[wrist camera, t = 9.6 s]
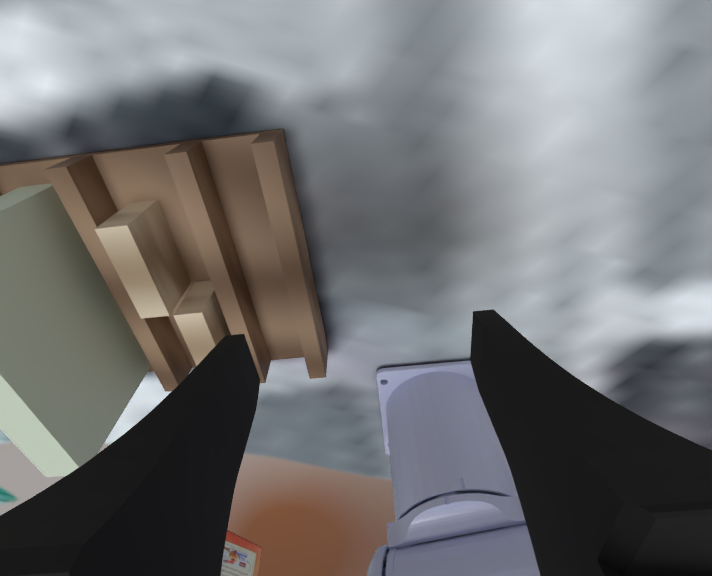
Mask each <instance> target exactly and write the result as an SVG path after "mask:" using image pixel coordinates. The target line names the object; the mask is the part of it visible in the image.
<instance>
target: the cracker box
mask: <svg viewBox="0 0 712 576" xmlns="http://www.w3.org/2000/svg"><path fill="white" fill-rule="evenodd" d="M261 553H262V548H261V547H260V546H258V545H256V544H254V543H252V542H250V541H248V540H246V539H244V538H242V537H240V536H238V535H236V534H234V533H232V532H230V531H228V530H227V534H226V541H225V547H224V554H223V560H222V568H221V576H258V571H259V566H260V559H261Z"/></svg>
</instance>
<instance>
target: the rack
mask: <svg viewBox="0 0 712 576" xmlns="http://www.w3.org/2000/svg"><path fill="white" fill-rule="evenodd" d="M47 183H52V185H53V187H54V189H55V190H56V192H57V194H58V196H59V198H60V200H61V201H62V203H63V205H64V207H65V209H66V211H67V212H68V214H69V216H70V218H71V220H72V222H73V223H74V225H75V227H76V229H77V231H78V233H79V234H80V236H81V238H82V240H83V242H84V243H85V245H86V247H87V249H88V251H89V253H90V254H91V256H92V258H93V260H94V262H95V264H96V265H97V267H98V269H99V271H100V273H101V275H102V276H103V278H104V280H105V282H106V284H107V285H108V287H109V289H110V291H111V293H112V295H113V296H114V298H115V300H116V302H117V304H118V306H119V307H120V309H121V311H122V313H123V315H124V317H125V318H126V320H127V322H128V324H129V326H130V328H131V329H132V331H133V333H134V335H135V337H136V338H137V340H138V342H139V344H140V346H141V348H142V349H143V351H144V353H145V355H146V357H147V359H148V360H149V362H150V364H151V367H150V368H149V370H148V371H155V373H156V375H157V377H158V379H159V381H160V382H161V384H162V386H163V388H164V390H165V391H173V390H174V389H175V388H176V387H177V386H178V385H179V384H180V383H181V382H182V381H183V380H184V379H185V378H186V377H187V376H188V374H189V372H190V370H191V368H192V367H196V364H195V361H194V359H193V357H192V355H191V353H190V351H189V348H188V346H187V344H186V342H185V340H184V338H183V335H182V333H181V331H180V329H179V327H178V325H177V322H176V320H175V318H174V316H173V315H174V313H175V312H176V310H177V309H178V307H179V306H180V304H181V303H182V301H183V299H184V298H185V296H186V295H187V293H188V292H189V290H190V288H191V287H192V285H193V284H194V282H200V281H210V280H211V282H212V285H213V288H214V290H215V293H216V296H217V298H218V301H219V304H220V306H221V309H222V312H223V315H224V317H225V320H226V323H227V325H228V328H229V331H230V333H231V335H237V334H244V335H245V338H246V341H247V343H248V346H249V349H250V352H251V355H252V358H253V361H254V363H255V366H256V369H257V372H258V375H259V378H260V383H265V382H266V378H267V374H268V370H269V366H270V362H271V360H278V359H288V358H299V357H304V358H305V362H306V365H307V369H308V373H309V377H310V379H311V378H323V377H326V369H327V356H328V346H327V341H326V336H325V331H324V326H323V322H322V317H321V312H320V307H319V302H318V297H317V292H316V287H315V282H314V278H313V273H312V268H311V263H310V258H309V253H308V248H307V243H306V238H305V234H304V229H303V224H302V219H301V214H300V209H299V204H298V199H297V195H296V190H295V185H294V180H293V175H292V170H291V165H290V160H289V155H288V151H287V146H286V141H285V136H284V131H283V129H276V130H268V131H260V132H252V133H244V134H236V135H228V136H220V137H213V138H205V139H197V140H189V141H181V142H173V143H165V144H157V145H149V146H141V147H133V148H125V149H117V150H109V151H101V152H93V153H85V154H77V155H70V156H62V157H54V158H46V159H38V160H30V161H22V162H14V163H6V164H0V196H2V195H4V194H6V193H8V192H10V191H13V190H15V189H17V188H19V187H22V186H31V185H39V184H47ZM151 200H158V202H159V204H160V207H161V209H162V212H163V214H164V217H165V219H166V222H167V224H168V227H169V229H170V232H171V234H172V236H173V239H174V241H175V244H176V246H177V249H178V251H179V254H180V256H181V259H182V261H183V263H184V266H185V268H186V271H187V273H188V276H189V278H190V281H191V284H190V285H189V287H188V288H187V290H186V291H185V293H184V294H183V296H182V297H181V299H180V300H179V302H178V303H177V305H176V307H175V308H174V310H173V311H172V313H171V314H170V316H162V317H152V318H143V319H141V318H140V316H139V314H138V312H137V310H136V308H135V306H134V304H133V302H132V300H131V298H130V296H129V294H128V293H127V291H126V289H125V287H124V285H123V283H122V281H121V279H120V277H119V275H118V273H117V271H116V269H115V268H114V266H113V264H112V262H111V260H110V258H109V256H108V254H107V252H106V250H105V248H104V246H103V244H102V243H101V241H100V239H99V237H98V235H97V233H96V231H95V228H97V227H98V226H99V225H101V224H102V223H103V222H105V221H106V220H107V219H109V218H110V217H111V216H113V215H114V214H115V213H117V212H118V211H119V210H121V209H122V208H123V207H125V206H126V205H127V204H129V203H134V202H142V201H151Z"/></svg>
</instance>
